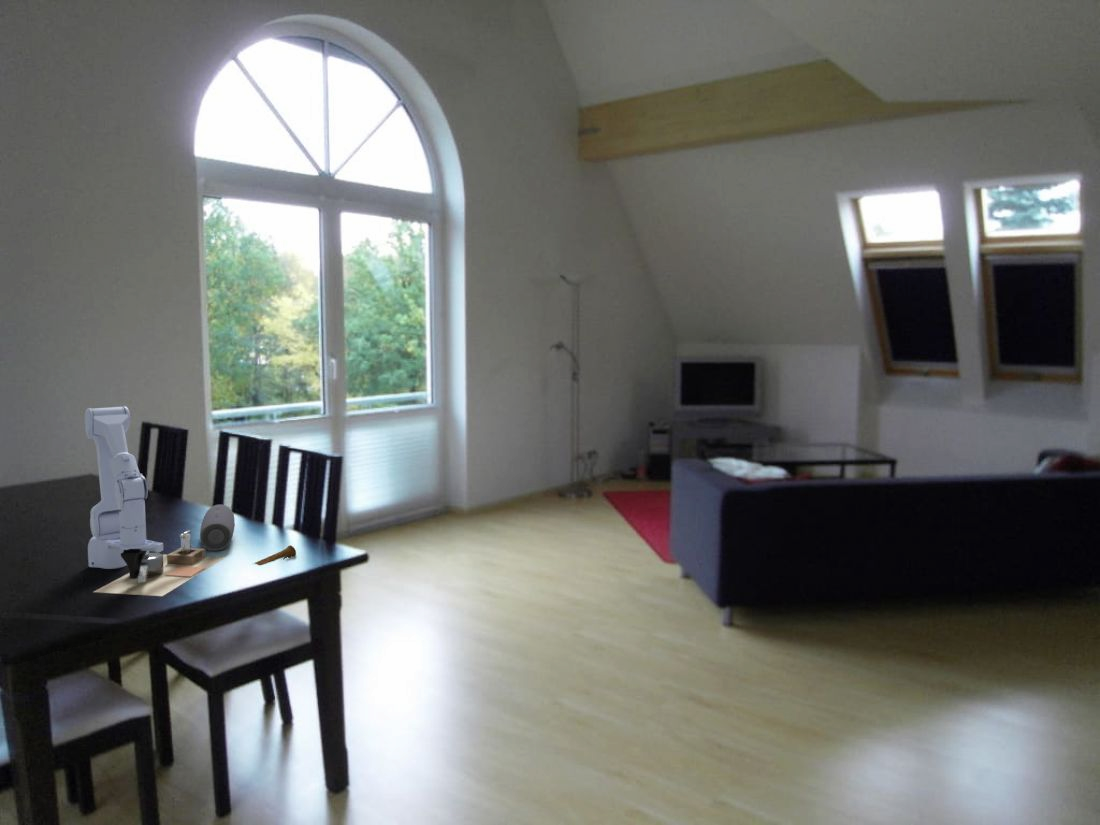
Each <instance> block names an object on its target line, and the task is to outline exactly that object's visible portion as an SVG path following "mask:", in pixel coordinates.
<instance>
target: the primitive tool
mask: <svg viewBox="0 0 1100 825" xmlns="http://www.w3.org/2000/svg"><path fill="white" fill-rule="evenodd" d="M296 555H297V551H296V549H295V547H294V546H292V545H288V546H287V547H286V548H284V549H283V550H281V551H278V552H277V553H274V554H272V555H269V556H267V557H265V558H262V559H260V560H258V561H256V562H254V563H253V565H257V566H263V565H267V564H269V563H272V562H275V561H276V560H279V559H280V560H281V559H283V560H286V559H288V558H292V557H291V556H294V557H296ZM287 557H288V558H287ZM285 558H286V559H285Z"/></svg>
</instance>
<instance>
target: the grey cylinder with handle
mask: <svg viewBox="0 0 1100 825" xmlns="http://www.w3.org/2000/svg"><path fill="white" fill-rule="evenodd" d="M163 555H164V554H162V553H160V552H159V553H158V552H150V551H147V552H146V554H145V555H144V557H143V559H142V562H141V565H140V571H139V574H138V583H140V582H146V578H147V577H150V576H155V575H158V574H160V573H162V572H163V571H164V569H163ZM128 573H129V572H128ZM129 575H130V573H129Z"/></svg>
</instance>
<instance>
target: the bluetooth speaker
mask: <svg viewBox="0 0 1100 825" xmlns="http://www.w3.org/2000/svg"><path fill="white" fill-rule="evenodd" d="M235 525H236V523H235V515H234V512H233V511H232V509H231V508H230V507H229V506H227V505H225V504H215V505H213V506H211V507H210V508H208V509H207V511H206V512H205V514H204V516H203V518H202V521H201V525H200V530H199V538H200V542H201V545H202V546H203V547H204V549H205V550H208V551H212V552H217V551H222V550H224V549H226V548H227V547H228V546H229V545H230V543H231V542H232V539H233V535H234V532H235Z"/></svg>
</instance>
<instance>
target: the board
mask: <svg viewBox="0 0 1100 825" xmlns="http://www.w3.org/2000/svg"><path fill="white" fill-rule="evenodd" d="M162 555H163V569H164V571H163V572H162V573H160V574H158V575H155V576H150V577H147V578H146V582H140V583H138V577H137V578H136V579H130V575H129V572H128V573H126V574H124V575H122V576H121V577H119V578H117V579H115V580H113V581H111V582H110V583H107V584H106V585H103V586H102V587H100V588H98V589H96V590H94V591H93V593H100V594H116V595H117V594H120V595H133V596H134V595H135V596H147V597H148V596H151V597H164V596H165V595H167V594H169V593H170V592H172V591H173V590H175V589H176V588H177V589H178V588H179V587H180V586H181V585H184V584H185V583H186V582H188V581H190V580H191V579H192V578H195V577H196V576H198V575H200V574H201V573H203V572H204V571H206V570H208V569H209V568H211V567H213V566H214V565H216V564H218V563H219V562H221V561H223V560H224V559H225V557H218V556H205V558H203V559H202V560H200V561H198V562H196V563H195V564H193V565H177V564H167V555H168V554H165V553H164V554H162ZM180 566H186V567H204V568H205V569H204V570H202V571H201V572H199V573H197V574H196V575H194V576H192V577H175V576H165V575H166V574H168V573H170V572H171V571H173V570H175V569H177V568H178V567H180Z"/></svg>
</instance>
